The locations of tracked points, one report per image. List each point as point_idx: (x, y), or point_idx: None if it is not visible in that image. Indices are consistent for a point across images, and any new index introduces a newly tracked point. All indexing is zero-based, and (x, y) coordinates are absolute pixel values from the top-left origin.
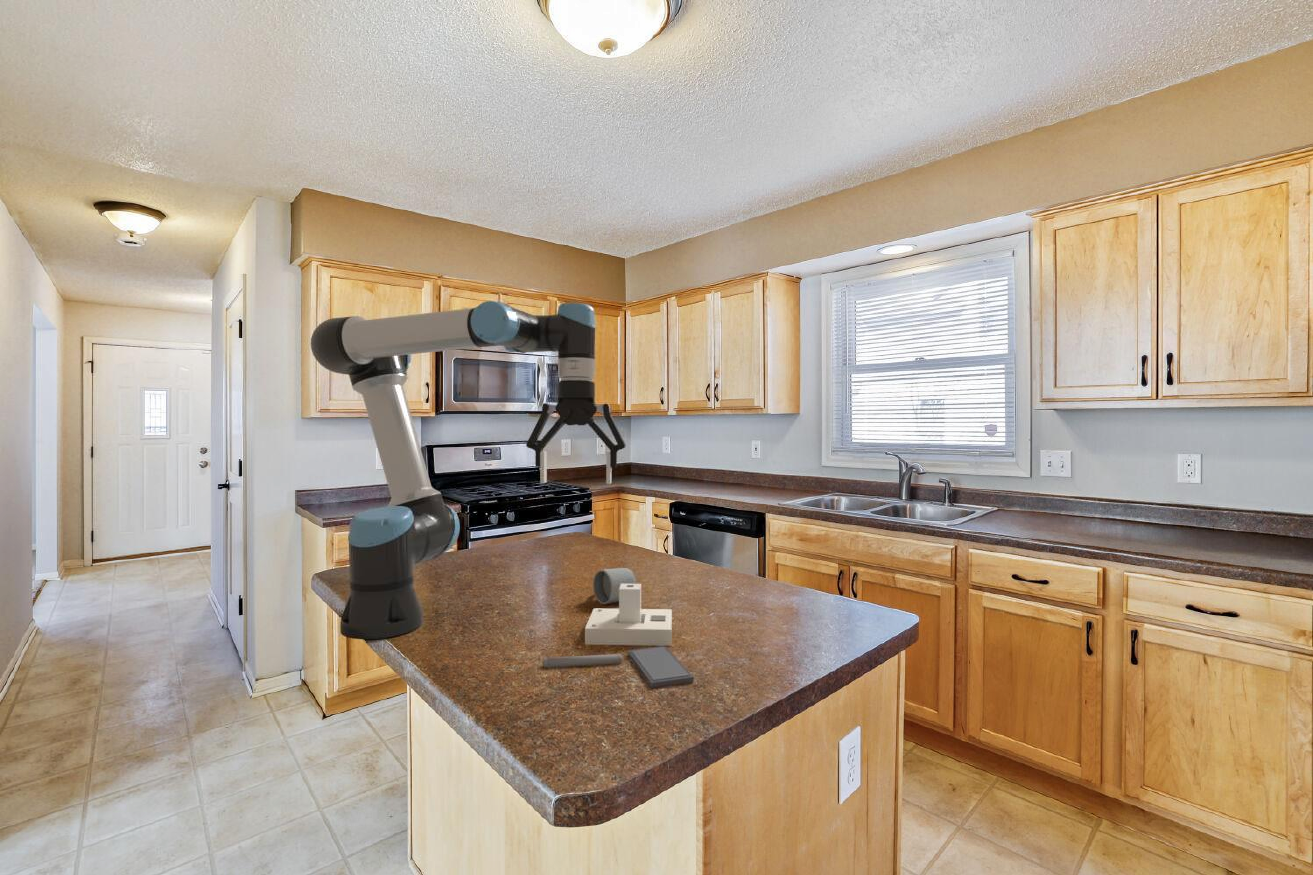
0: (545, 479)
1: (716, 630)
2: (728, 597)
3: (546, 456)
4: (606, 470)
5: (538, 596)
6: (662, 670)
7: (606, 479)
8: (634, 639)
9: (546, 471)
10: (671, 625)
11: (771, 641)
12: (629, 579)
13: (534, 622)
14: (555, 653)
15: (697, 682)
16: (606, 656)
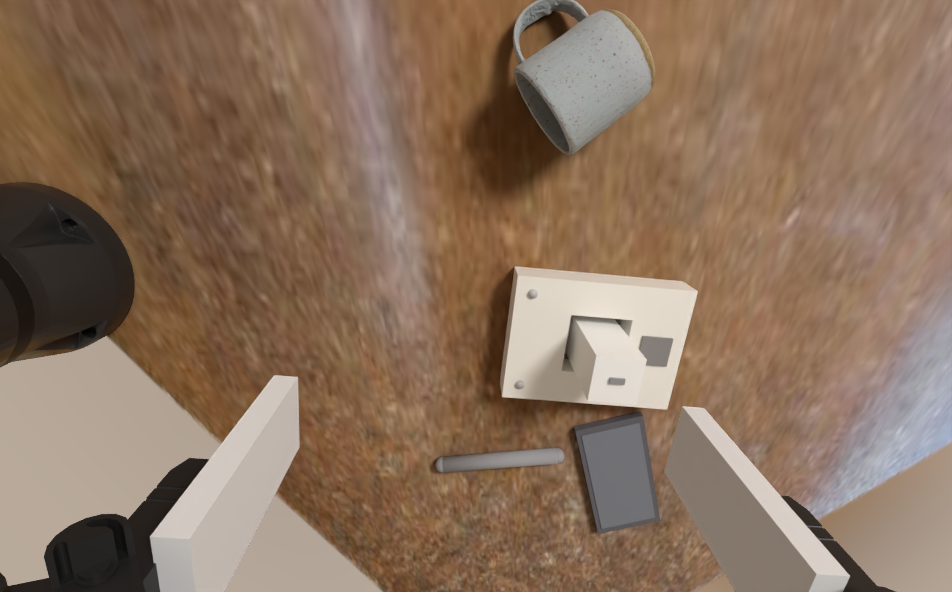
0: (292, 421)
1: (763, 322)
2: (891, 76)
3: (218, 507)
4: (701, 533)
5: (346, 27)
6: (619, 503)
7: (676, 489)
8: None
9: (272, 424)
10: (672, 381)
11: (841, 381)
12: (630, 106)
13: (381, 255)
14: (450, 415)
15: (662, 515)
16: (538, 464)
